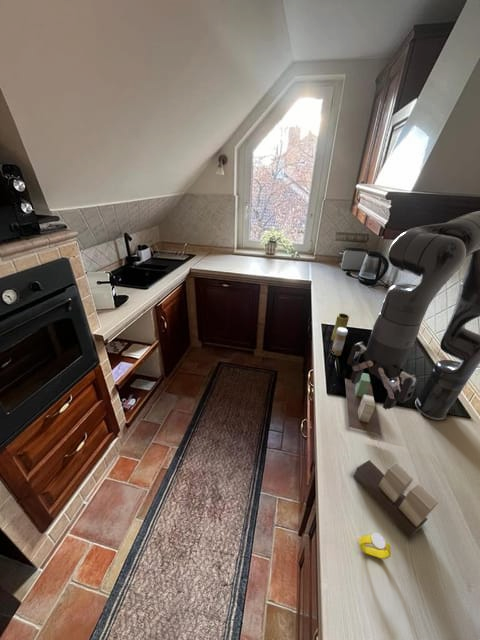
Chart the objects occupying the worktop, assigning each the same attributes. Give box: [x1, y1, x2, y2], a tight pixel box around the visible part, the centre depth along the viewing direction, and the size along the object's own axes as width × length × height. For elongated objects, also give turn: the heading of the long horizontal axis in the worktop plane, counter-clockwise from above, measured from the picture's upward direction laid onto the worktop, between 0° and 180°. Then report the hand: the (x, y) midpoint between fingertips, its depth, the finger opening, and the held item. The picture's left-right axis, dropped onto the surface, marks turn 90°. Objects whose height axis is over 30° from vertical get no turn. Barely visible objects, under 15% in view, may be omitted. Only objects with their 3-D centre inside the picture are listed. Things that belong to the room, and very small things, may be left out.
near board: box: [344, 378, 382, 436], centre depth 91 cm, size 24×10×9 cm, turn 163°
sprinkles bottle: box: [331, 327, 349, 357], centre depth 117 cm, size 5×5×13 cm
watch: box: [358, 532, 392, 560], centre depth 55 cm, size 6×3×6 cm, turn 72°
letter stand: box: [353, 459, 439, 539], centre depth 63 cm, size 5×16×12 cm, turn 28°
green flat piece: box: [355, 372, 371, 397], centre depth 96 cm, size 3×4×8 cm
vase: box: [330, 313, 350, 343], centre depth 127 cm, size 6×6×14 cm
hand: (369, 394), depth 59 cm, fingers open, 8 cm apart
